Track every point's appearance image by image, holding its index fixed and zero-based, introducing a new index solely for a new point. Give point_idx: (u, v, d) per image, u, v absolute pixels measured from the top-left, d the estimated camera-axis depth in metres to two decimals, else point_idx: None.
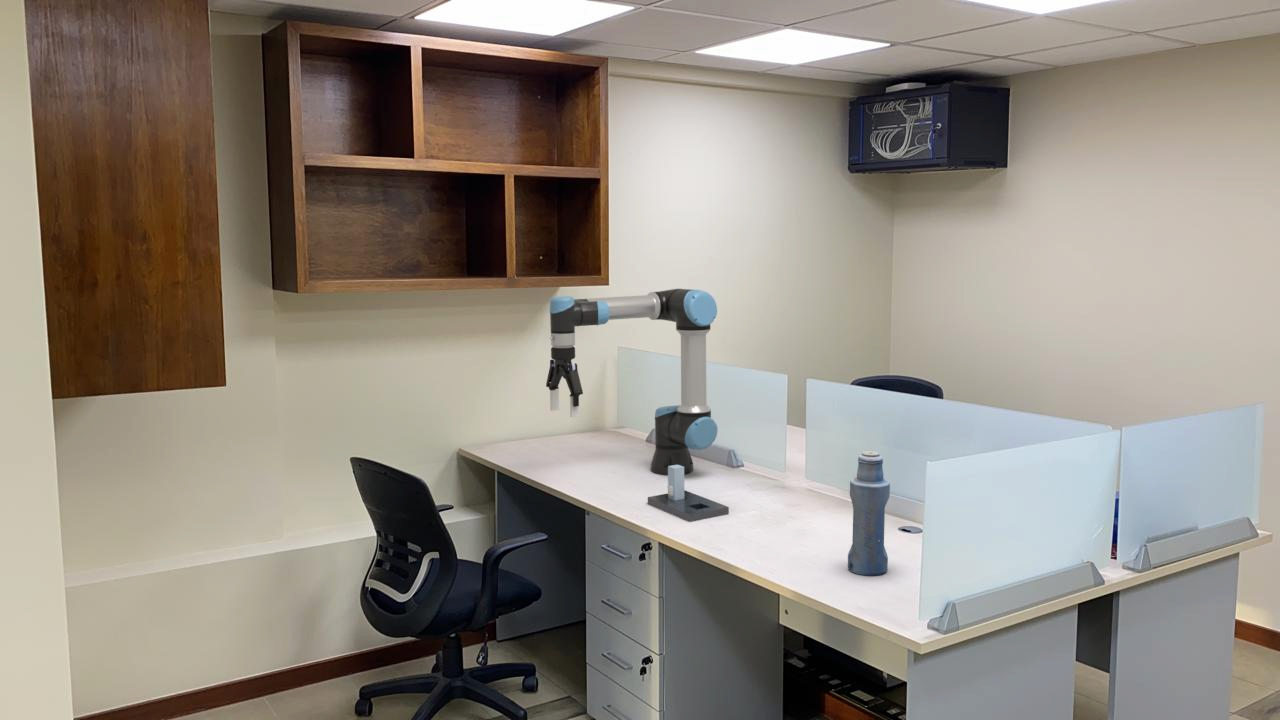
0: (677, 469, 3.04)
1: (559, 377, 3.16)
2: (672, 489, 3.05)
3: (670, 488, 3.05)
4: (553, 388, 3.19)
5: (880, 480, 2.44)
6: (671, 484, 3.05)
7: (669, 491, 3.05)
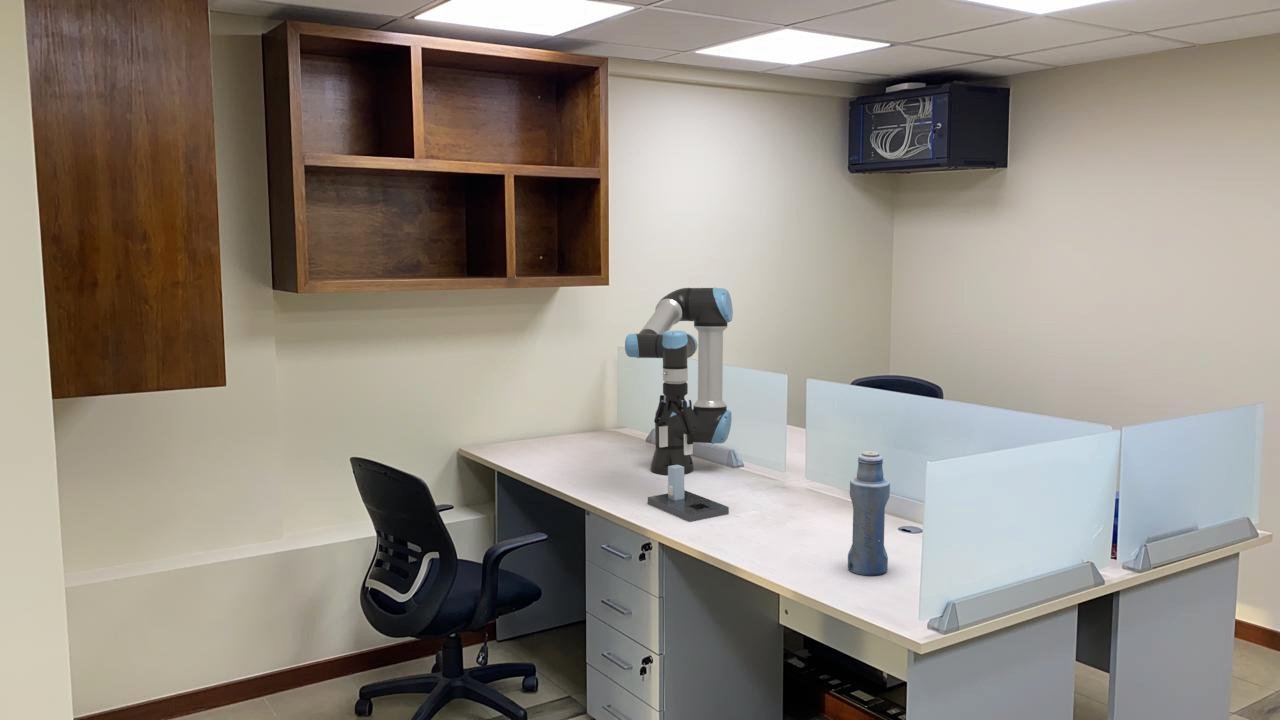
0: (677, 469, 3.04)
1: (669, 413, 3.07)
2: (672, 489, 3.05)
3: (670, 488, 3.05)
4: (662, 424, 3.10)
5: (880, 480, 2.44)
6: (671, 484, 3.05)
7: (669, 491, 3.05)
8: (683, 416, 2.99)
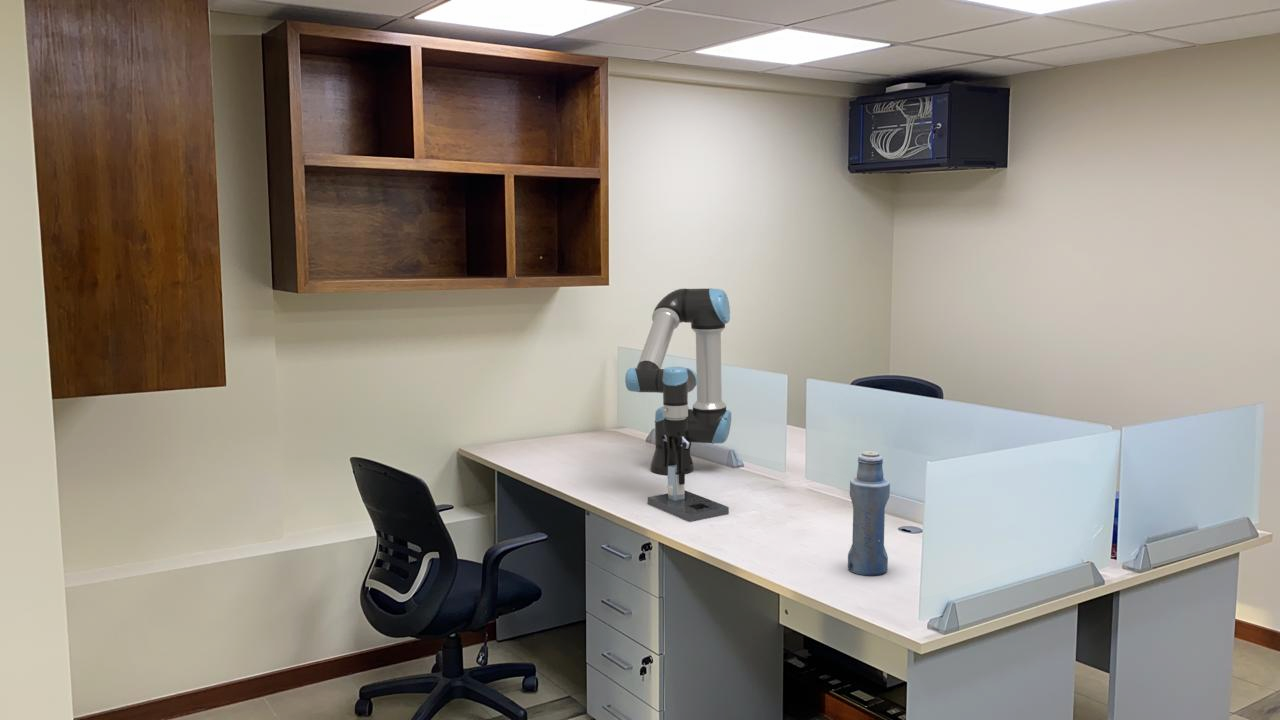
0: None
1: (674, 452, 3.07)
2: (672, 489, 3.05)
3: (670, 488, 3.05)
4: None
5: (880, 480, 2.44)
6: (671, 484, 3.05)
7: (669, 491, 3.05)
8: (679, 455, 3.03)
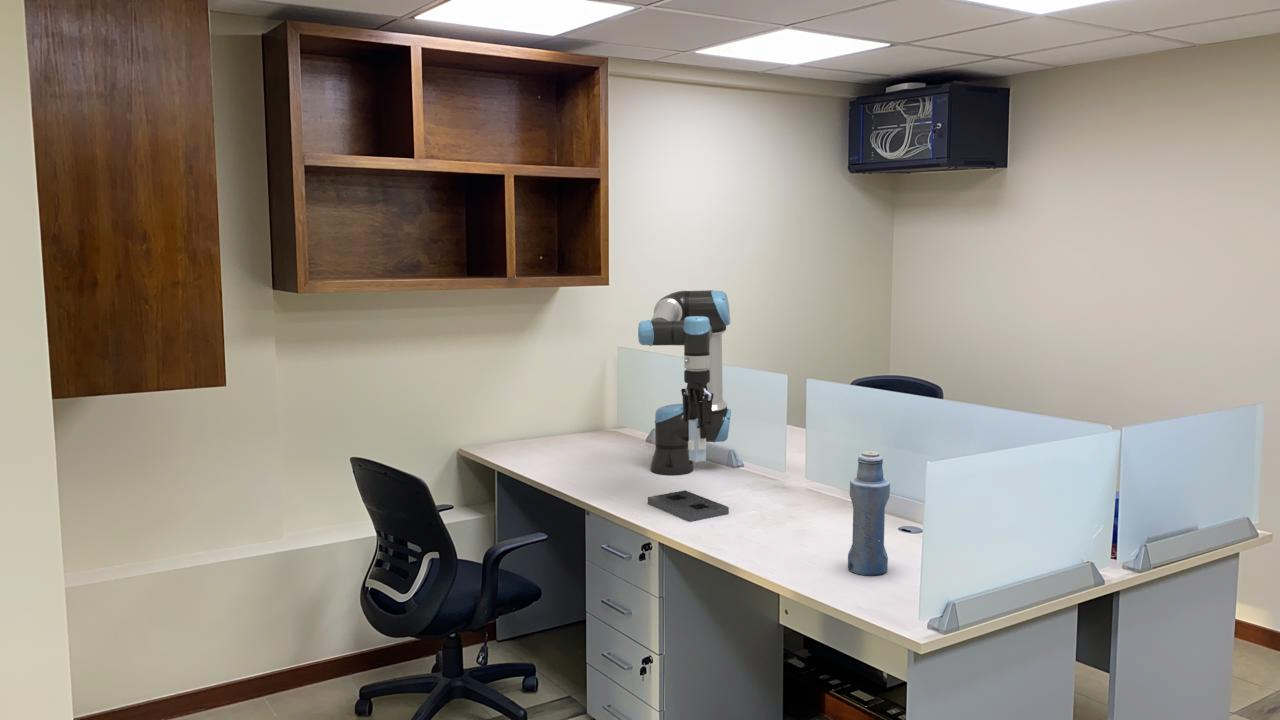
0: (698, 423, 2.92)
1: (695, 405, 2.95)
2: (693, 444, 2.92)
3: (691, 442, 2.93)
4: None
5: (880, 480, 2.44)
6: (692, 438, 2.93)
7: (690, 446, 2.93)
8: (701, 408, 2.91)
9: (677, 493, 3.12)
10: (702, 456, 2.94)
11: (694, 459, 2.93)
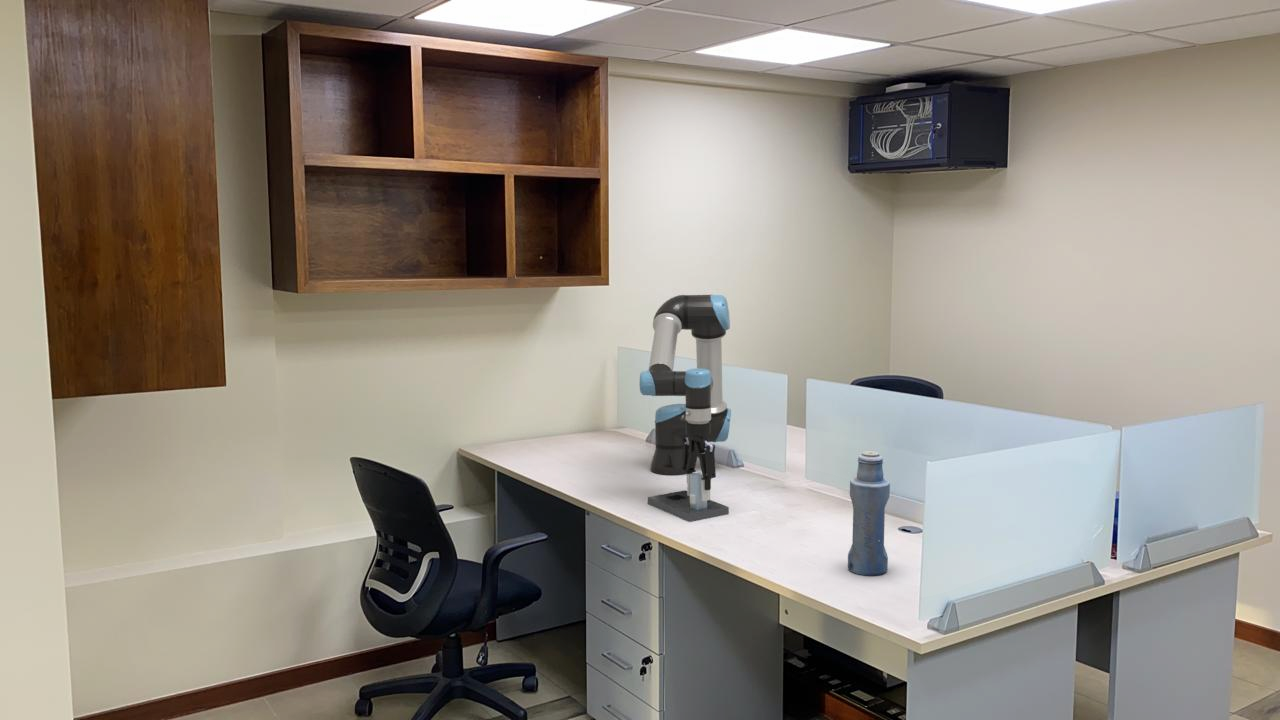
0: (700, 477, 2.94)
1: (695, 456, 2.97)
2: (694, 498, 2.95)
3: (693, 497, 2.95)
4: (690, 471, 2.99)
5: (880, 480, 2.44)
6: (693, 492, 2.95)
7: (691, 500, 2.95)
8: (704, 460, 2.92)
9: (677, 493, 3.12)
10: None
11: None
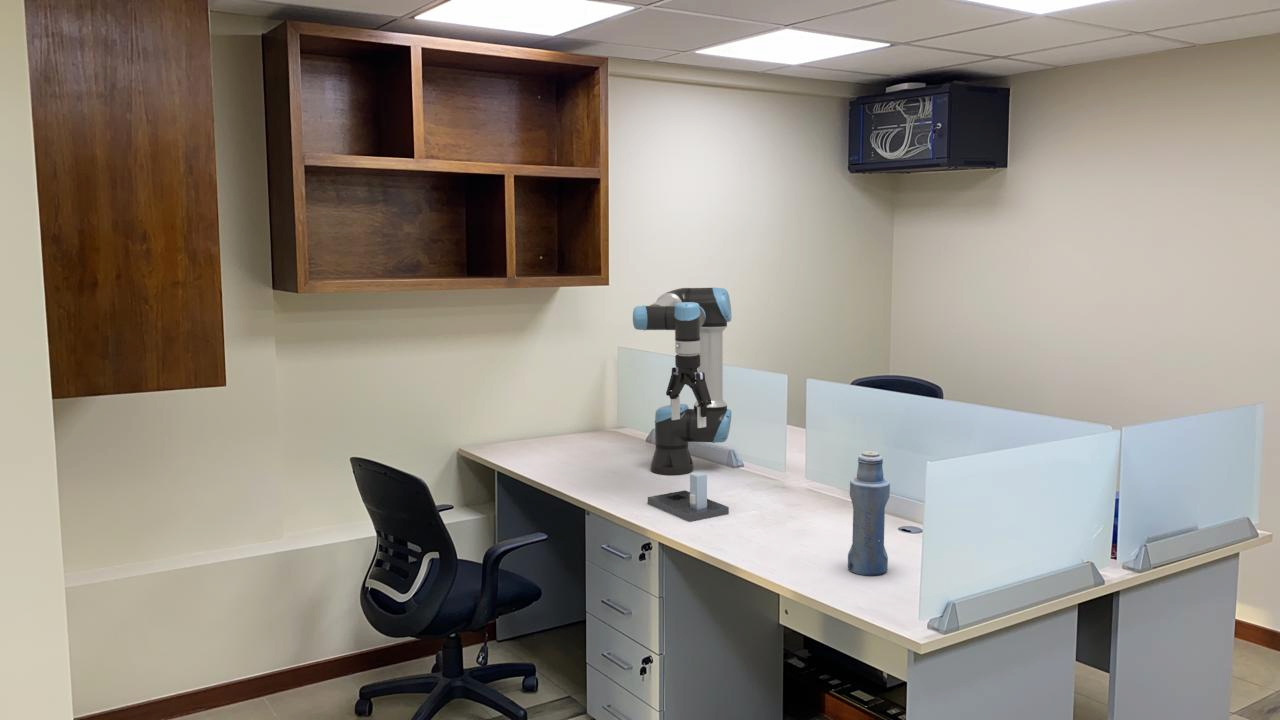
0: (700, 477, 2.94)
1: (682, 386, 3.04)
2: (694, 498, 2.95)
3: (693, 497, 2.95)
4: (674, 397, 3.07)
5: (880, 480, 2.44)
6: (693, 492, 2.95)
7: (691, 500, 2.95)
8: (696, 389, 2.96)
9: (677, 493, 3.12)
10: None
11: None
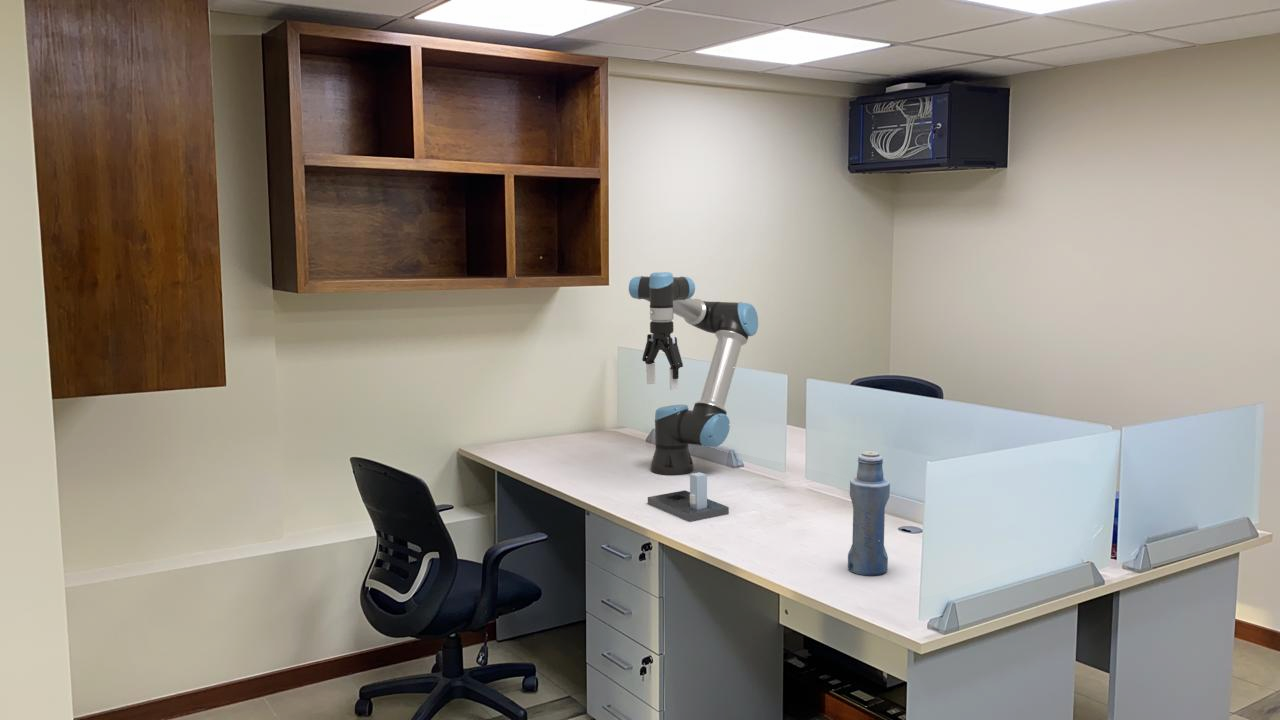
0: (700, 477, 2.94)
1: (656, 351, 3.24)
2: (694, 498, 2.95)
3: (693, 497, 2.95)
4: (650, 362, 3.27)
5: (880, 480, 2.44)
6: (693, 492, 2.95)
7: (691, 500, 2.95)
8: (669, 353, 3.16)
9: (677, 493, 3.12)
10: None
11: None
